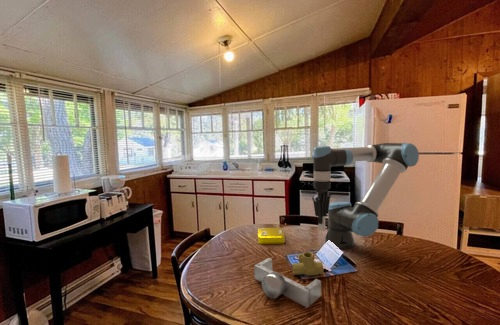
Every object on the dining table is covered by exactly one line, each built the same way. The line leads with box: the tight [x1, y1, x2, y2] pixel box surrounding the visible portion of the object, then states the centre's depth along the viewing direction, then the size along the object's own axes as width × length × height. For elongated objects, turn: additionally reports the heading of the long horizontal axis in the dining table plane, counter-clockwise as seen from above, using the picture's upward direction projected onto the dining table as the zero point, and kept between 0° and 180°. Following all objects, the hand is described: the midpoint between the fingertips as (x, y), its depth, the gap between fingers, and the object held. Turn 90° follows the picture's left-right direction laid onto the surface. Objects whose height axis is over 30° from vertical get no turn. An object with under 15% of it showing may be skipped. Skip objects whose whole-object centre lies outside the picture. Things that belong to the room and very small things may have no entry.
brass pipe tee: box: [291, 251, 324, 276], centre depth 109 cm, size 13×10×10 cm
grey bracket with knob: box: [253, 257, 322, 309], centre depth 96 cm, size 14×26×8 cm, turn 43°
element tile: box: [257, 227, 285, 245], centre depth 146 cm, size 15×15×5 cm
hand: (321, 229), depth 116 cm, fingers closed
